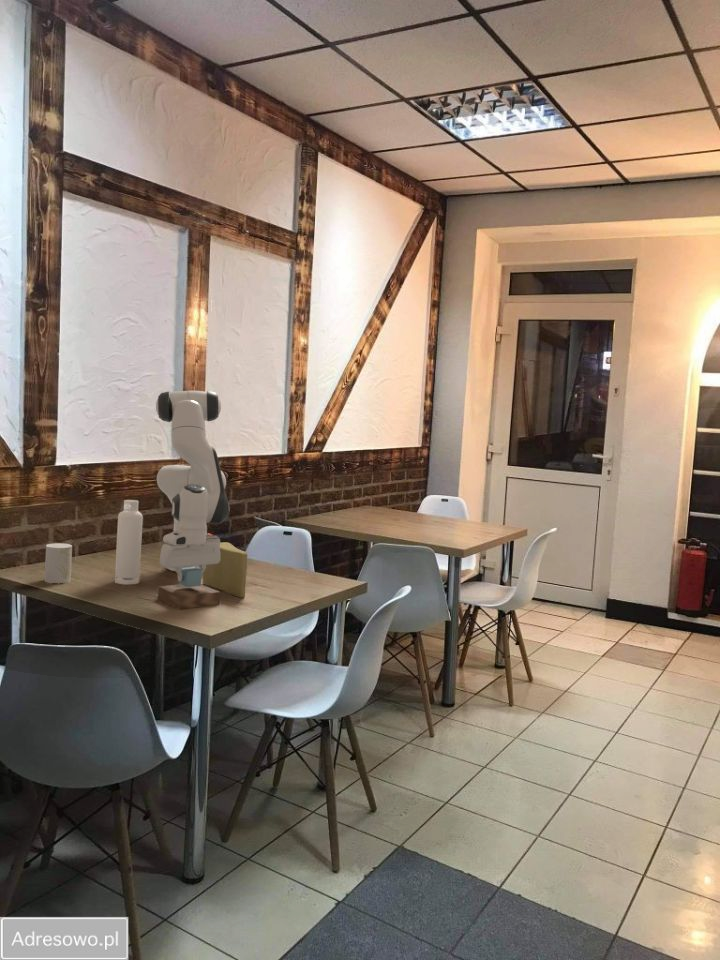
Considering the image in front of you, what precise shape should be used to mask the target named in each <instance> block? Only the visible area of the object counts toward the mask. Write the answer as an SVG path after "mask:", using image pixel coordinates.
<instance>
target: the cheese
mask: <svg viewBox="0 0 720 960" xmlns="http://www.w3.org/2000/svg"><path fill="white" fill-rule="evenodd" d="M247 571H248V553H247V552H246V551H244V550H241V549H240V548H237V547H235V546H234V545H233V544H232V543H231V542H227V541H226V542H223V541H222V542H221V541H220V562H219V563H218V564H211V565H206V569H205V571H204V572H203V574H202V585H204V586H207V587H210V588H213V589H216V590H220V591H223V592H225V593H227V594H230V595H232V596H235V597H238V598H241V599H242V598H245V597H246V582H247Z"/></svg>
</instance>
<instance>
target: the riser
mask: <svg viewBox="0 0 720 960" xmlns="http://www.w3.org/2000/svg"><path fill="white" fill-rule="evenodd" d="M157 600H159V601H161V602H163V603H165V604H168V605H170V606H172V607H174V608H177V609H179V610H186V609H194V608H200V607H201V608H202V607H207V606H216V605H220V600H221V591H219V590H218V589H215V588H213V587H210V586H208V585H205V584H203V583H201V586H193V587H185V586H183V585H180V584H179V583H177V584H170V585H161V586H160V585H159V586H158V588H157Z"/></svg>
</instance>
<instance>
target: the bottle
mask: <svg viewBox="0 0 720 960" xmlns="http://www.w3.org/2000/svg"><path fill="white" fill-rule="evenodd" d="M139 503H140V502H139V500H137V499H124V500H123V510H122V511H121V512H119V513H118V516H117V530H116V531H117V534H116V549H115V551H116V553H115V571H114V575H115V576H114V583H115V584H118V585H119V584H120V585H137V584H139V583H140V574H141V557H142V537H143V522H144V521H143V520H144V516H143V514H142V513H141V512H140V511H139Z"/></svg>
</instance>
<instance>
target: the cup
mask: <svg viewBox="0 0 720 960" xmlns="http://www.w3.org/2000/svg"><path fill="white" fill-rule="evenodd" d="M72 553H73V545H72V544H70V543H57V542H55V543H47V544H46V545H45V559H44V560H45V561H44V562H45V563H44V582H45V583H46V582H47V584H52V583H58V584H59V583H63V584H67V582H68V583H70V582H71V581H72V579H71V578H72V577H71V576H72V575H71V574H72V560H73V559H72V558H73V557H72V555H73V554H72ZM58 584H57V585H58ZM59 585H60V584H59Z"/></svg>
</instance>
